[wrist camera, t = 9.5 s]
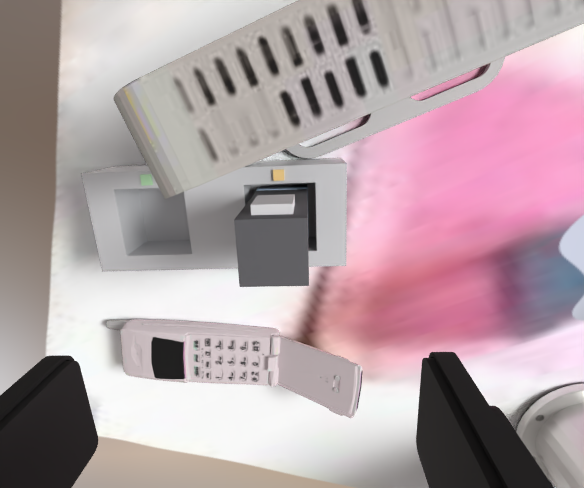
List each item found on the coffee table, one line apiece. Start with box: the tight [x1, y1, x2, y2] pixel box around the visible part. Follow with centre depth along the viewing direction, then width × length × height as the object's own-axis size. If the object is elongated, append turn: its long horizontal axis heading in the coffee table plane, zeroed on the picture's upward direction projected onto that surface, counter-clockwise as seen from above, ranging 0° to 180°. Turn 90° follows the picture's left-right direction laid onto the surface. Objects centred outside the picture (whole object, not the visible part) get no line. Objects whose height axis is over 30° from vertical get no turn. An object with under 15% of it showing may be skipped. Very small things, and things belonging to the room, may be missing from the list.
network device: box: [114, 0, 584, 199], centre depth 20 cm, size 26×9×20 cm, turn 112°
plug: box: [234, 184, 309, 287], centre depth 26 cm, size 5×4×12 cm
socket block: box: [81, 158, 347, 271], centre depth 31 cm, size 8×20×5 cm, turn 92°
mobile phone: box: [106, 319, 362, 418], centre depth 35 cm, size 6×6×25 cm
